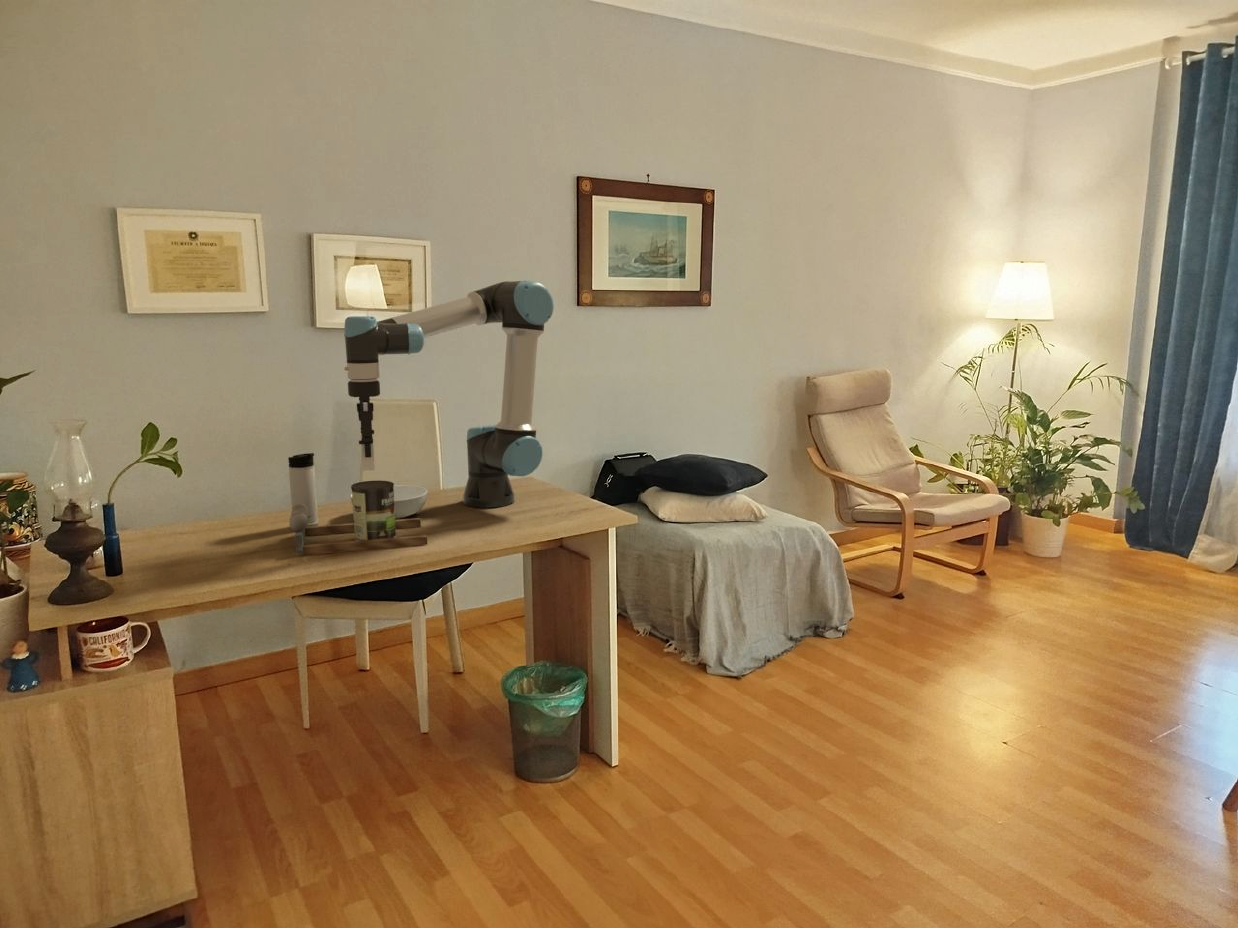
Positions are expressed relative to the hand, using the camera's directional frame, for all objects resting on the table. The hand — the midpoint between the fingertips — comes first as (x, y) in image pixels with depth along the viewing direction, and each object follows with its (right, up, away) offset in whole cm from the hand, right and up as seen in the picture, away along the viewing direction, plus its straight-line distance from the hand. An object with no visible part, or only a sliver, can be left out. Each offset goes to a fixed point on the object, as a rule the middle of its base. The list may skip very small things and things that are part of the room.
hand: (368, 465), depth 213 cm
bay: (-2, -19, +2) cm, 19 cm away
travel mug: (-21, -17, +14) cm, 30 cm away
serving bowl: (-1, -15, +25) cm, 29 cm away
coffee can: (+1, -19, +3) cm, 19 cm away
